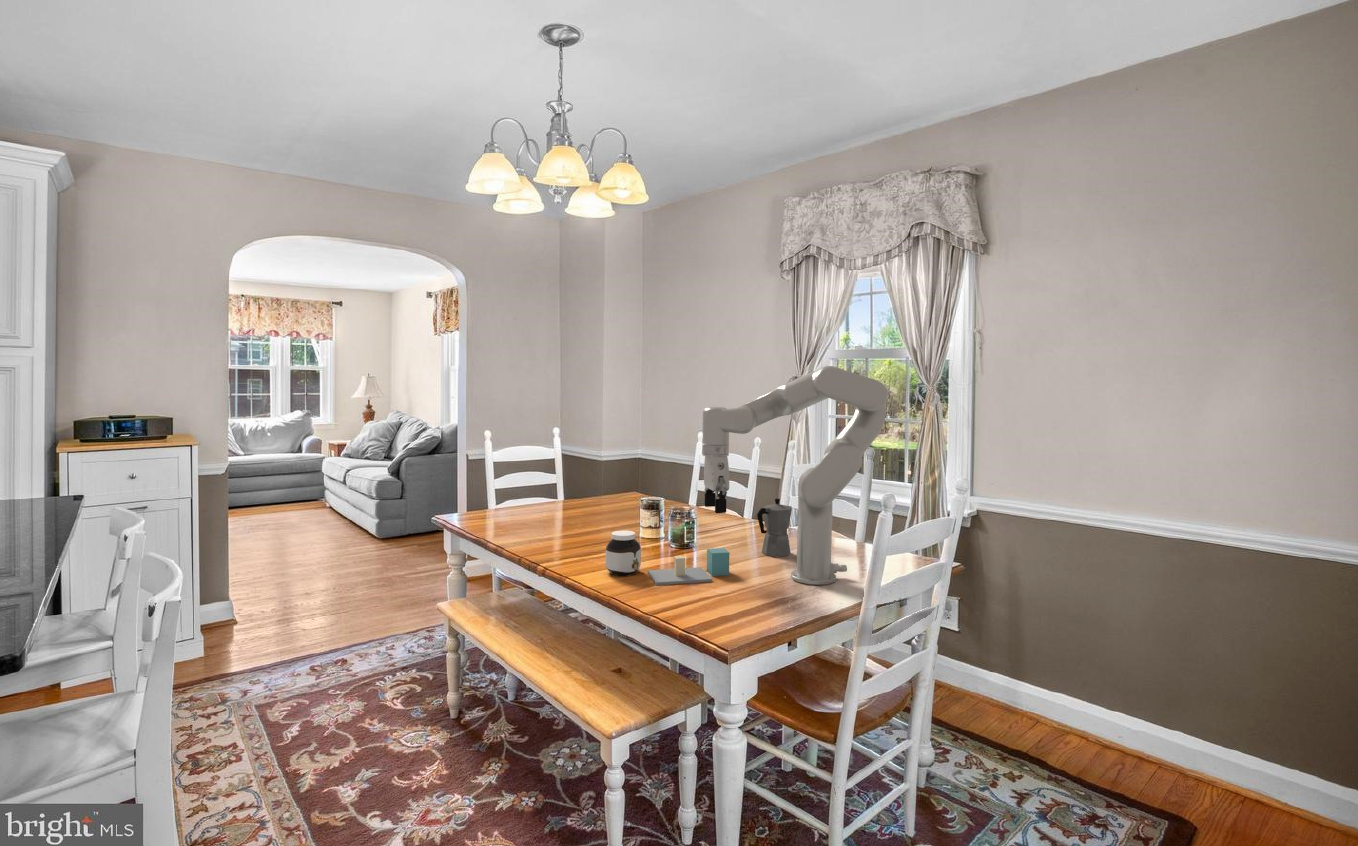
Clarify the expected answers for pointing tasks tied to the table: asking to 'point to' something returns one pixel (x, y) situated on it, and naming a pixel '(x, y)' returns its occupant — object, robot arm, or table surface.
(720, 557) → the teal block
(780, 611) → the table surface
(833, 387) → the robot arm
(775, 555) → the coffeepot
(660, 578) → the stand
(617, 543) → the spread jar
